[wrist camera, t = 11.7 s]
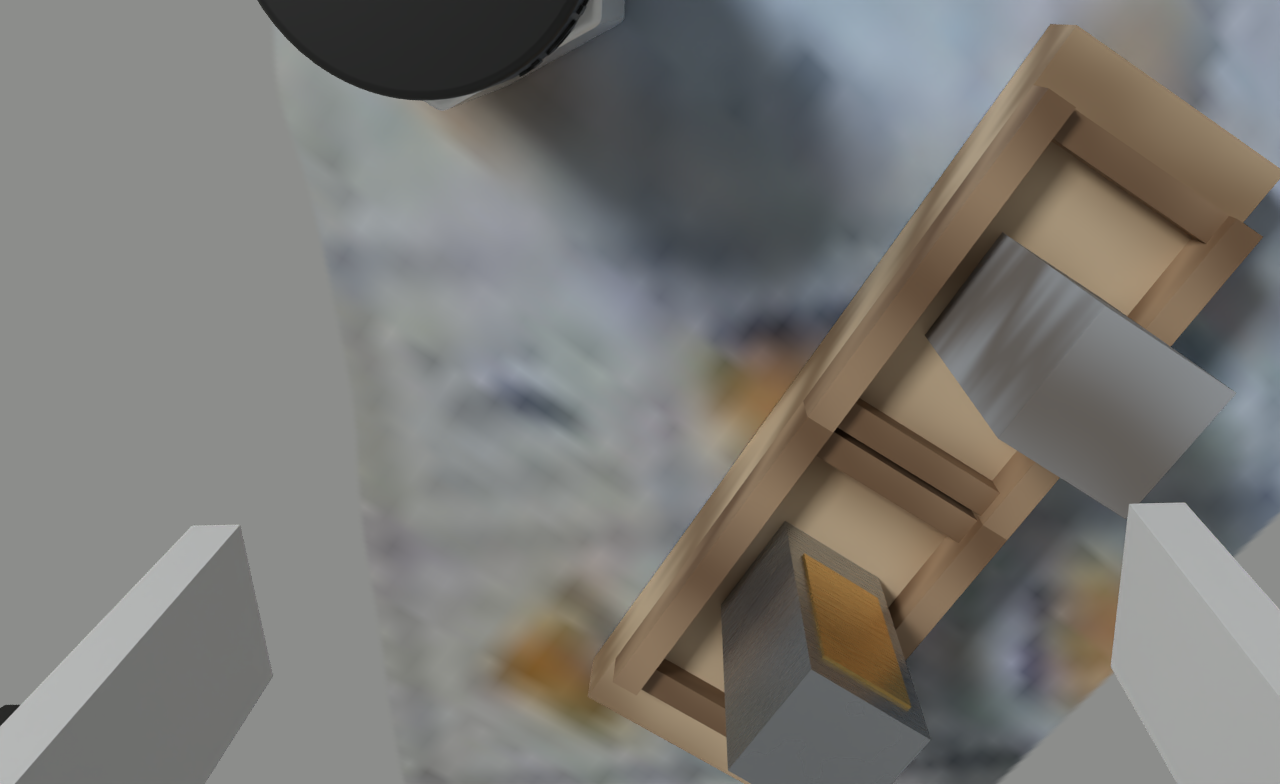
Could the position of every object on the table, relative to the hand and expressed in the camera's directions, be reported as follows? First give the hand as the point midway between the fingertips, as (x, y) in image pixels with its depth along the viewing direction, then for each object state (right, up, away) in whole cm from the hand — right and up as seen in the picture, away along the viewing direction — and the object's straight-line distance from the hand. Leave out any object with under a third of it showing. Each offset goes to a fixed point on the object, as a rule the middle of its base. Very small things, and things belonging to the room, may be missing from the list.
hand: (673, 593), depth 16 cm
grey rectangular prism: (+5, -4, +22) cm, 23 cm away
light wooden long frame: (+8, +2, +23) cm, 24 cm away
